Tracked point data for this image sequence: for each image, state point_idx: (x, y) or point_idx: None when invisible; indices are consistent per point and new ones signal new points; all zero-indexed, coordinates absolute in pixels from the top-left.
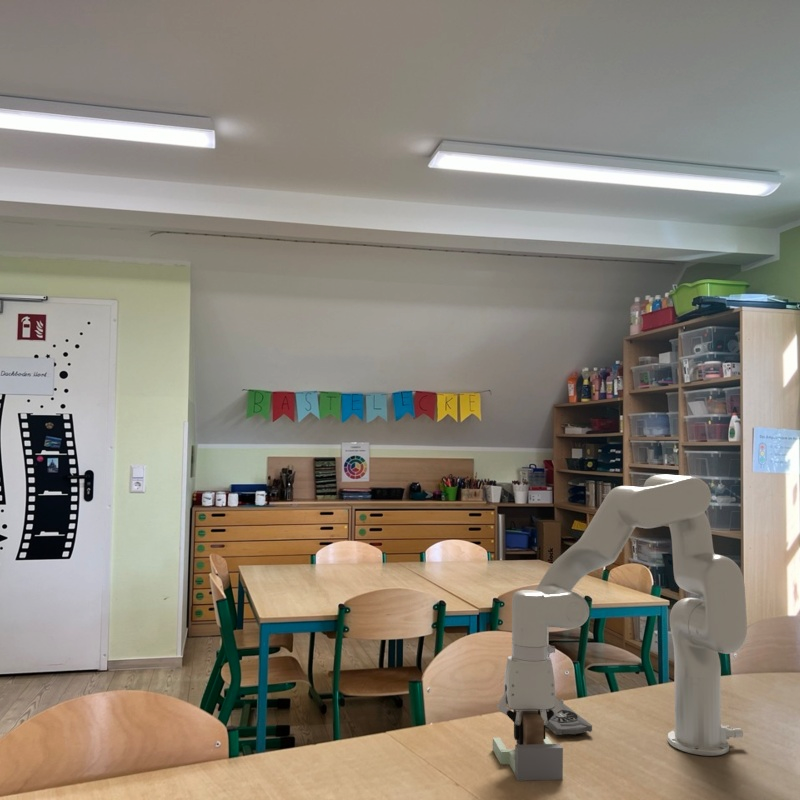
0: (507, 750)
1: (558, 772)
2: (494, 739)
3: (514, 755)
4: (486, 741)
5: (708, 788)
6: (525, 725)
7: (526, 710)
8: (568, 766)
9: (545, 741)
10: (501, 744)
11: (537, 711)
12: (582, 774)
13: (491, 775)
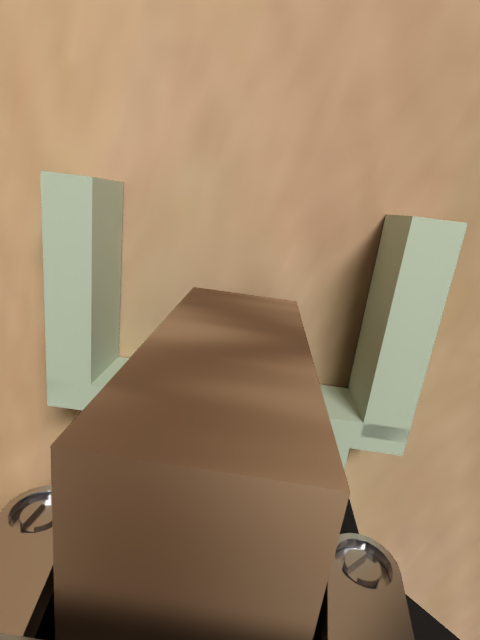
0: (90, 394)
1: None
2: (46, 207)
3: None
4: (71, 21)
5: None
6: None
7: (157, 621)
8: (412, 456)
9: (399, 310)
10: (75, 304)
11: (328, 630)
12: (427, 537)
13: (14, 464)
